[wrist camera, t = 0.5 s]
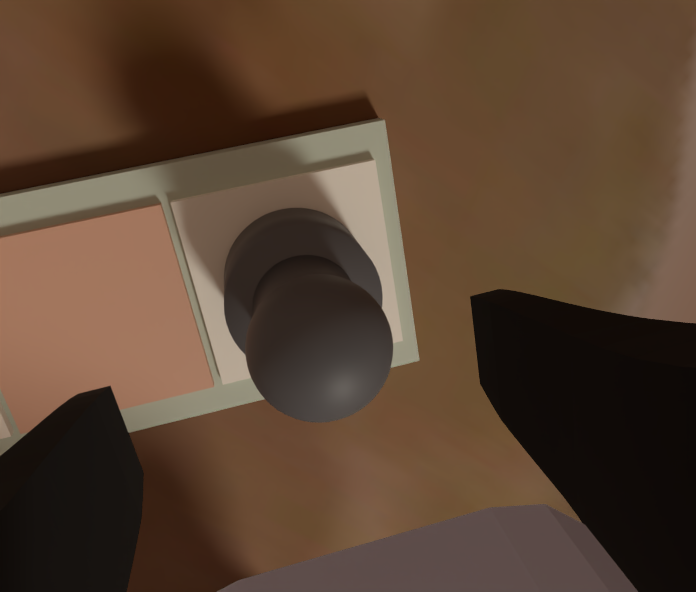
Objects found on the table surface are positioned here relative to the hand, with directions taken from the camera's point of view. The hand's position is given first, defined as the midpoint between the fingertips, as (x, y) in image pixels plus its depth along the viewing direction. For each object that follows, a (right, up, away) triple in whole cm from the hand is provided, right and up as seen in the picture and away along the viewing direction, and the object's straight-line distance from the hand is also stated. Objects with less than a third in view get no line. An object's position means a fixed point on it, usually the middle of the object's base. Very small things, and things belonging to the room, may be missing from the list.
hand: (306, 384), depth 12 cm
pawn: (-1, +2, +8) cm, 8 cm away
